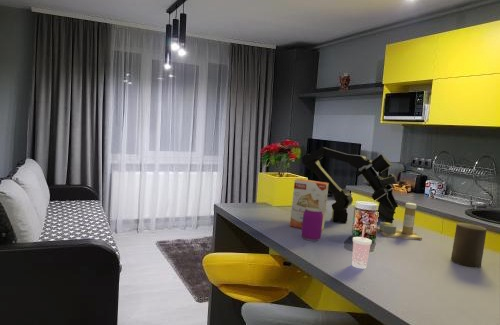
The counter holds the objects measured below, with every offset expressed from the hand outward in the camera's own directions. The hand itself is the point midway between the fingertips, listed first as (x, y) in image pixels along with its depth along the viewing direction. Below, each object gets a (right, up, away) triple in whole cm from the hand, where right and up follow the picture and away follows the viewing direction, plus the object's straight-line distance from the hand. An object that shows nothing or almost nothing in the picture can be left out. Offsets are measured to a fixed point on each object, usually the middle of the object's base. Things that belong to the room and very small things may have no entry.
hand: (394, 207), depth 179 cm
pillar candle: (+14, -17, -34) cm, 40 cm away
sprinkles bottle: (+5, -11, -3) cm, 13 cm away
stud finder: (-4, -11, -2) cm, 12 cm away
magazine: (+4, -10, +24) cm, 26 cm away
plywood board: (+1, -12, -2) cm, 12 cm away
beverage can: (-41, -10, -20) cm, 47 cm away
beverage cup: (-29, -14, -48) cm, 58 cm away
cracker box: (-40, -9, -5) cm, 41 cm away
